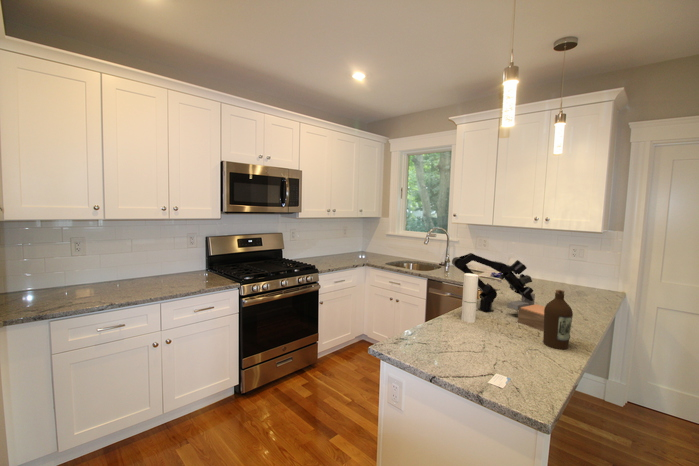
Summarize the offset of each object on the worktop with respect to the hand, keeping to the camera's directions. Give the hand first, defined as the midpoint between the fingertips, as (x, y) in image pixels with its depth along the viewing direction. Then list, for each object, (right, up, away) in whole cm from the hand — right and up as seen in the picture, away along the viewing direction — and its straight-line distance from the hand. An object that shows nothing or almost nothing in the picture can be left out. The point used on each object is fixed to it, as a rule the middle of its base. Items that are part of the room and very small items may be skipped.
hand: (530, 299), depth 187 cm
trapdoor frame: (-5, -10, -18) cm, 21 cm away
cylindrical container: (-43, -8, -16) cm, 46 cm away
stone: (-2, -3, 0) cm, 3 cm away
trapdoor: (-7, -4, -15) cm, 17 cm away
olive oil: (-14, -12, -45) cm, 48 cm away
